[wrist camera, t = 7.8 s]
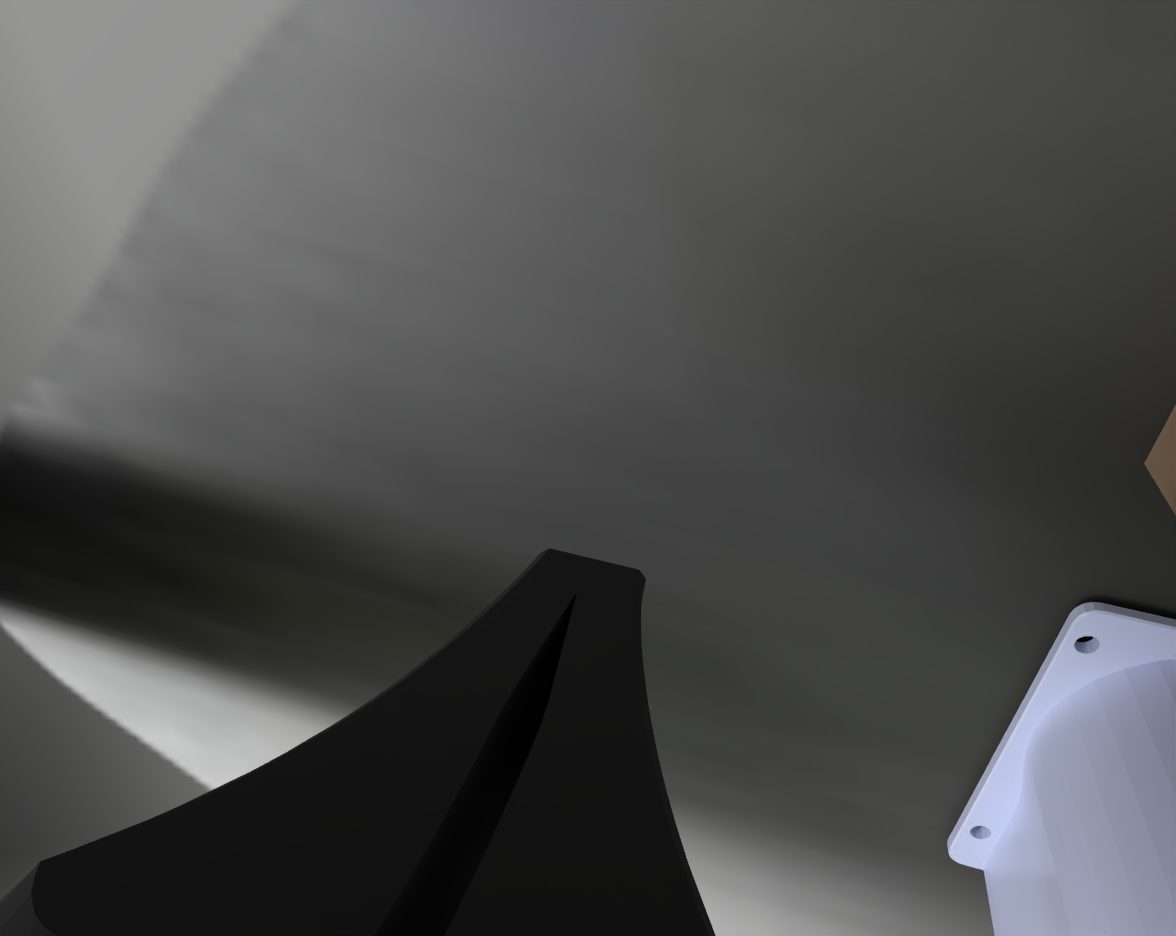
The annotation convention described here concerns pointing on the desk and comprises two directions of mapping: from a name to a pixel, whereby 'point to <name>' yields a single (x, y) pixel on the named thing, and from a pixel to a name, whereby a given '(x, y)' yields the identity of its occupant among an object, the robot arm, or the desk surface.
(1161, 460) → the hole board
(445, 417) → the desk surface
